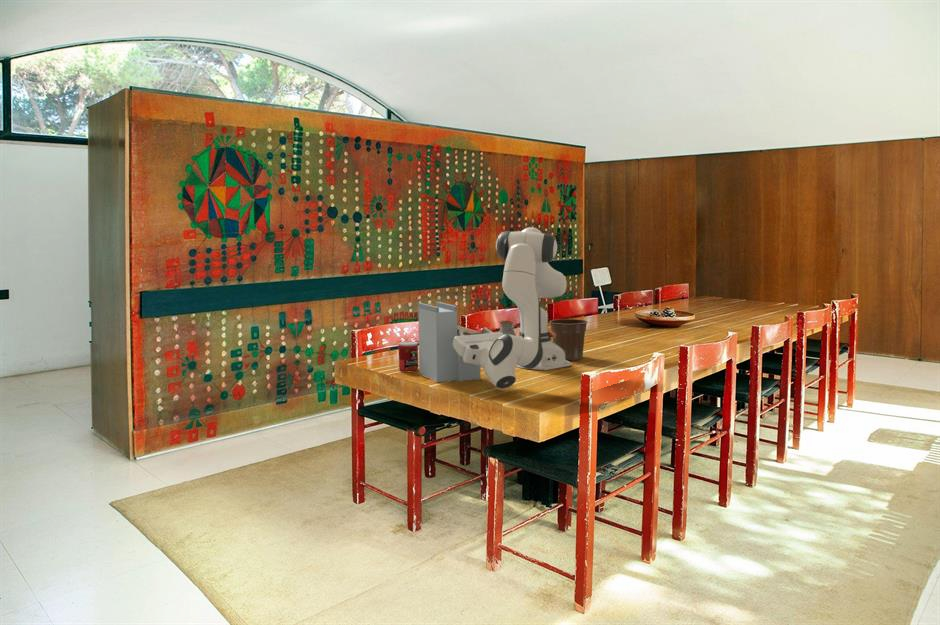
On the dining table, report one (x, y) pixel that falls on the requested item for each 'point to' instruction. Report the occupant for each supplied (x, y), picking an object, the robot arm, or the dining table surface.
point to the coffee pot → (508, 327)
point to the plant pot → (569, 336)
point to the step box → (441, 345)
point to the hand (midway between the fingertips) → (472, 329)
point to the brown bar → (467, 331)
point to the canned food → (408, 356)
